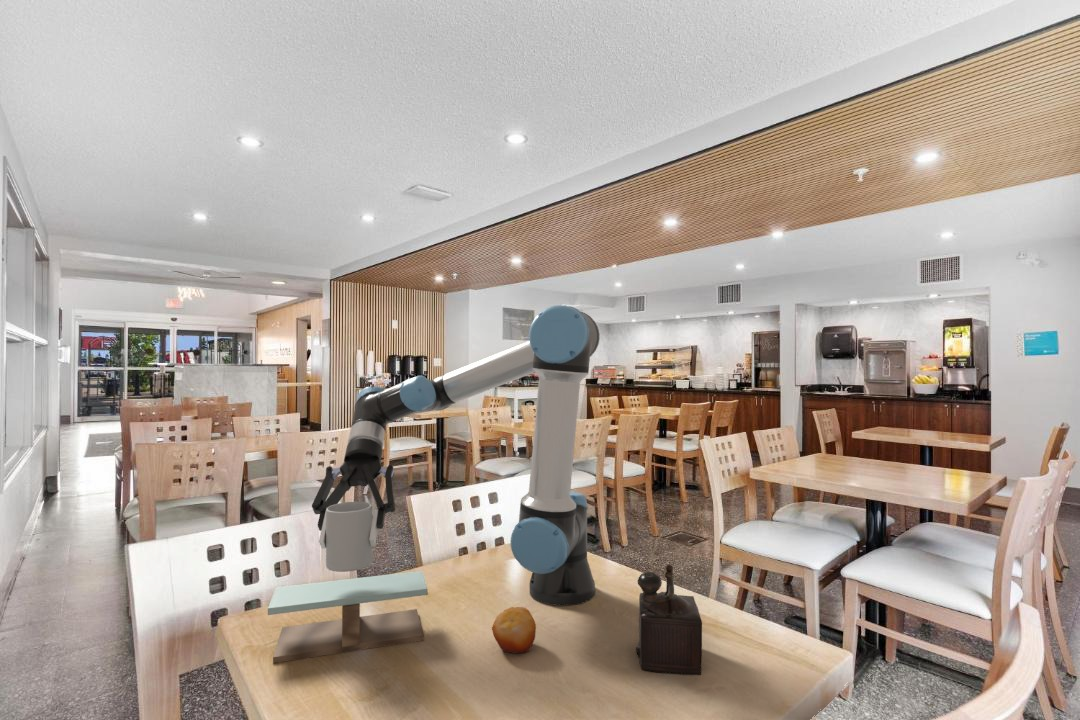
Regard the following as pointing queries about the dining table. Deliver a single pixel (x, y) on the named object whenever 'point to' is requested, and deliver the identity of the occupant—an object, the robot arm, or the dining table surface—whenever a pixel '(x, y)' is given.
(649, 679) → the dining table surface
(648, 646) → the manual coffee grinder
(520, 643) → the fruit
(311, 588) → the plank
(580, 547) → the robot arm
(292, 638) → the fulcrum stand
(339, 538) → the mug
